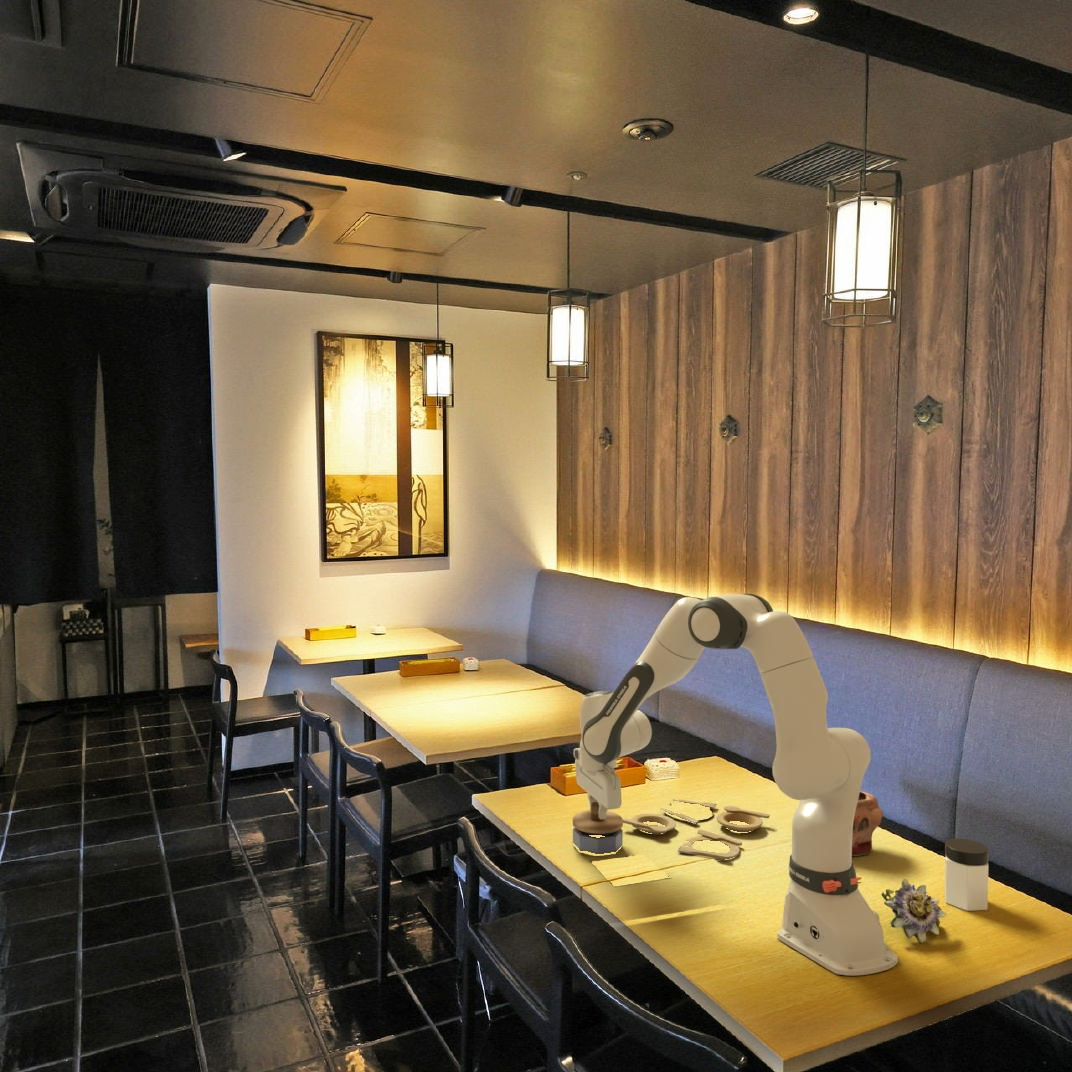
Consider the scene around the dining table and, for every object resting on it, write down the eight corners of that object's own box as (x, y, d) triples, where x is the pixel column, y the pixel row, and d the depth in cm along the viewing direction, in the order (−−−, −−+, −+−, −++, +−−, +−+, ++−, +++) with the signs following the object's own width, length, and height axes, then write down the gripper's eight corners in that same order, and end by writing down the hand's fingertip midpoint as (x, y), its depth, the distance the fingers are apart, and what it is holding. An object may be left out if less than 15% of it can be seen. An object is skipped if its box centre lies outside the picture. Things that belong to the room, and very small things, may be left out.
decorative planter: (825, 866, 196) (826, 807, 195) (792, 846, 207) (793, 790, 207) (895, 855, 203) (896, 797, 202) (859, 835, 214) (860, 781, 214)
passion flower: (920, 968, 163) (898, 929, 159) (881, 931, 173) (860, 893, 169) (964, 931, 165) (944, 891, 160) (922, 897, 175) (903, 858, 171)
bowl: (628, 855, 202) (628, 835, 202) (584, 862, 198) (584, 841, 198) (609, 838, 212) (609, 818, 212) (568, 844, 209) (568, 823, 208)
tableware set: (722, 871, 195) (722, 853, 194) (612, 840, 212) (612, 824, 212) (779, 825, 222) (779, 809, 222) (678, 801, 240) (679, 786, 240)
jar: (973, 892, 183) (975, 837, 183) (997, 910, 175) (999, 852, 175) (934, 894, 183) (935, 838, 182) (956, 912, 174) (958, 854, 174)
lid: (631, 829, 201) (631, 809, 201) (584, 836, 197) (584, 815, 197) (610, 812, 212) (610, 793, 212) (565, 818, 209) (565, 798, 208)
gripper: (628, 769, 195) (628, 829, 196) (594, 745, 215) (594, 799, 215) (603, 772, 193) (602, 832, 194) (570, 747, 213) (570, 802, 213)
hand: (598, 815), depth 205 cm, fingers closed on lid, 3 cm apart
